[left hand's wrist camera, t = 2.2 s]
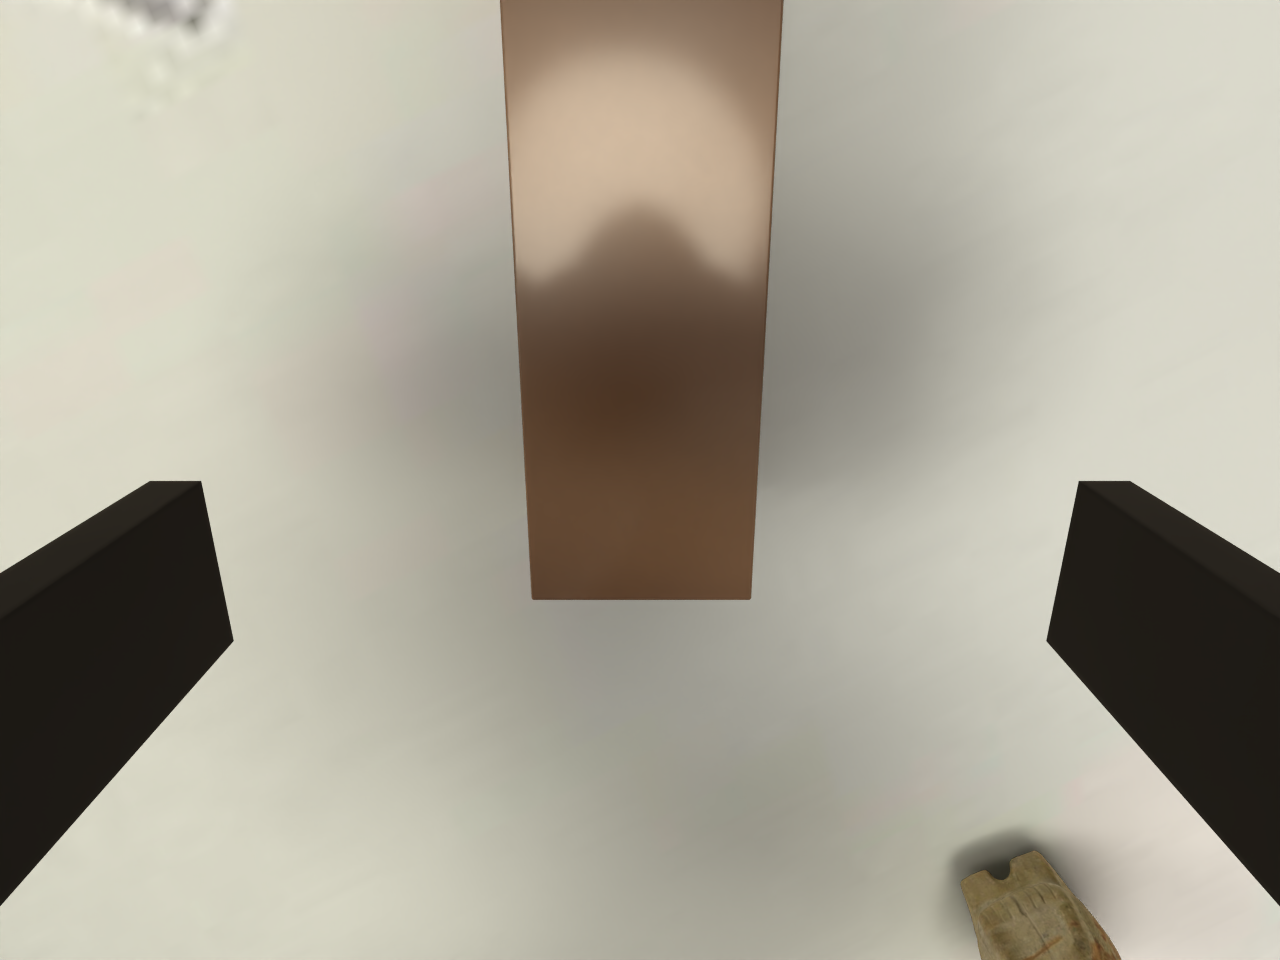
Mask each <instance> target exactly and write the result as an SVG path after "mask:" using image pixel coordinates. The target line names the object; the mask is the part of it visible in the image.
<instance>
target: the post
mask: <svg viewBox="0 0 1280 960" xmlns="http://www.w3.org/2000/svg"><path fill="white" fill-rule="evenodd" d="M783 1H784V0H500V10H501V29H502V48H503V67H504V86H505V104H506V123H507V142H508V161H509V180H510V199H511V218H512V236H513V255H514V274H515V293H516V312H517V331H518V349H519V368H520V387H521V406H522V425H523V444H524V462H525V481H526V500H527V519H528V538H529V557H530V575H531V594H532V599H533V600H750V599H751V589H752V571H753V552H754V534H755V516H756V497H757V479H758V460H759V442H760V424H761V405H762V387H763V369H764V350H765V332H766V313H767V295H768V277H769V258H770V240H771V221H772V203H773V185H774V166H775V148H776V130H777V111H778V93H779V74H780V56H781V38H782V19H783Z"/></svg>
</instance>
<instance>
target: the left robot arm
mask: <svg viewBox="0 0 1280 960" xmlns="http://www.w3.org/2000/svg"><path fill="white" fill-rule="evenodd" d="M233 641H234V640H233V635H232V630H231V626H230V621H229V616H228V611H227V606H226V601H225V596H224V591H223V586H222V581H221V576H220V571H219V567H218V562H217V557H216V552H215V547H214V542H213V537H212V532H211V527H210V522H209V517H208V513H207V508H206V503H205V498H204V493H203V488H202V483H201V481H149V482H148V483H146V484H144V485H143V486H141V487H140V488H138V489H136V490H135V491H133V492H131V493H130V494H128V495H127V496H125V497H123V498H122V499H120V500H118V501H117V502H115V503H114V504H112V505H110V506H109V507H107V508H105V509H104V510H102V511H101V512H99V513H97V514H96V515H94V516H92V517H91V518H89V519H88V520H86V521H84V522H83V523H81V524H79V525H78V526H76V527H75V528H73V529H71V530H70V531H68V532H66V533H65V534H63V535H62V536H60V537H58V538H57V539H55V540H53V541H52V542H50V543H49V544H47V545H45V546H44V547H42V548H40V549H39V550H37V551H36V552H34V553H32V554H31V555H29V556H27V557H26V558H24V559H23V560H21V561H19V562H18V563H16V564H14V565H13V566H11V567H10V568H8V569H6V570H5V571H3V572H1V573H0V906H1V905H2V904H3V902H4V901H5V900H6V899H7V898H8V897H9V896H10V894H11V893H12V892H13V891H14V890H15V889H16V888H17V887H18V885H19V884H20V883H21V882H22V881H23V880H24V879H25V877H26V876H27V875H28V874H29V873H30V872H31V871H32V869H33V868H34V867H35V866H36V865H37V864H38V863H39V862H40V860H41V859H42V858H43V857H44V856H45V855H46V854H47V852H48V851H49V850H50V849H51V848H52V847H53V846H54V844H55V843H56V842H57V841H58V840H59V839H60V838H61V837H62V835H63V834H64V833H65V832H66V831H67V830H68V829H69V827H70V826H71V825H72V824H73V823H74V822H75V821H76V819H77V818H78V817H79V816H80V815H81V814H82V813H83V812H84V810H85V809H86V808H87V807H88V806H89V805H90V804H91V802H92V801H93V800H94V799H95V798H96V797H97V796H98V794H99V793H100V792H101V791H102V790H103V789H104V788H105V787H106V785H107V784H108V783H109V782H110V781H111V780H112V779H113V777H114V776H115V775H116V774H117V773H118V772H119V771H120V769H121V768H122V767H123V766H124V765H125V764H126V763H127V762H128V760H129V759H130V758H131V757H132V756H133V755H134V754H135V752H136V751H137V750H138V749H139V748H140V747H141V746H142V745H143V743H144V742H145V741H146V740H147V739H148V738H149V737H150V735H151V734H152V733H153V732H154V731H155V730H156V729H157V727H158V726H159V725H160V724H161V723H162V722H163V721H164V720H165V718H166V717H167V716H168V715H169V714H170V713H171V712H172V710H173V709H174V708H175V707H176V706H177V705H178V704H179V702H180V701H181V700H182V699H183V698H184V697H185V696H186V695H187V693H188V692H189V691H190V690H191V689H192V688H193V687H194V685H195V684H196V683H197V682H198V681H199V680H200V679H201V677H202V676H203V675H204V674H205V673H206V672H207V671H208V670H209V668H210V667H211V666H212V665H213V664H214V663H215V662H216V660H217V659H218V658H219V657H220V656H221V655H222V654H223V652H224V651H225V650H226V649H227V648H228V647H229V646H230V645H231V643H232V642H233ZM1046 641H1047V642H1048V643H1049V645H1050V646H1051V647H1052V648H1053V649H1054V650H1055V651H1056V652H1057V654H1058V655H1059V656H1060V657H1061V658H1062V659H1063V660H1064V662H1065V663H1066V664H1067V665H1068V666H1069V667H1070V668H1071V670H1072V671H1073V672H1074V673H1075V674H1076V675H1077V676H1078V677H1079V679H1080V680H1081V681H1082V682H1083V683H1084V684H1085V685H1086V687H1087V688H1088V689H1089V690H1090V691H1091V692H1092V693H1093V695H1094V696H1095V697H1096V698H1097V699H1098V700H1099V701H1100V702H1101V704H1102V705H1103V706H1104V707H1105V708H1106V709H1107V710H1108V712H1109V713H1110V714H1111V715H1112V716H1113V717H1114V718H1115V720H1116V721H1117V722H1118V723H1119V724H1120V725H1121V726H1122V727H1123V729H1124V730H1125V731H1126V732H1127V733H1128V734H1129V735H1130V737H1131V738H1132V739H1133V740H1134V741H1135V742H1136V743H1137V745H1138V746H1139V747H1140V748H1141V749H1142V750H1143V751H1144V752H1145V754H1146V755H1147V756H1148V757H1149V758H1150V759H1151V760H1152V762H1153V763H1154V764H1155V765H1156V766H1157V767H1158V768H1159V769H1160V771H1161V772H1162V773H1163V774H1164V775H1165V776H1166V777H1167V779H1168V780H1169V781H1170V782H1171V783H1172V784H1173V785H1174V787H1175V788H1176V789H1177V790H1178V791H1179V792H1180V793H1181V794H1182V796H1183V797H1184V798H1185V799H1186V800H1187V801H1188V802H1189V804H1190V805H1191V806H1192V807H1193V808H1194V809H1195V810H1196V812H1197V813H1198V814H1199V815H1200V816H1201V817H1202V818H1203V819H1204V821H1205V822H1206V823H1207V824H1208V825H1209V826H1210V827H1211V829H1212V830H1213V831H1214V832H1215V833H1216V834H1217V835H1218V837H1219V838H1220V839H1221V840H1222V841H1223V842H1224V843H1225V844H1226V846H1227V847H1228V848H1229V849H1230V850H1231V851H1232V852H1233V854H1234V855H1235V856H1236V857H1237V858H1238V859H1239V860H1240V862H1241V863H1242V864H1243V865H1244V866H1245V867H1246V868H1247V869H1248V871H1249V872H1250V873H1251V874H1252V875H1253V876H1254V877H1255V879H1256V880H1257V881H1258V882H1259V883H1260V884H1261V885H1262V887H1263V888H1264V889H1265V890H1266V891H1267V892H1268V893H1269V894H1270V896H1271V897H1272V898H1273V899H1274V900H1275V901H1276V902H1277V904H1278V905H1279V906H1280V573H1279V572H1277V571H1275V570H1274V569H1272V568H1270V567H1269V566H1267V565H1266V564H1264V563H1262V562H1261V561H1259V560H1257V559H1256V558H1254V557H1253V556H1251V555H1249V554H1248V553H1246V552H1244V551H1243V550H1241V549H1240V548H1238V547H1236V546H1235V545H1233V544H1231V543H1230V542H1228V541H1227V540H1225V539H1223V538H1222V537H1220V536H1218V535H1217V534H1215V533H1214V532H1212V531H1210V530H1209V529H1207V528H1205V527H1204V526H1202V525H1201V524H1199V523H1197V522H1196V521H1194V520H1192V519H1191V518H1189V517H1188V516H1186V515H1184V514H1183V513H1181V512H1179V511H1178V510H1176V509H1175V508H1173V507H1171V506H1170V505H1168V504H1166V503H1165V502H1163V501H1162V500H1160V499H1158V498H1157V497H1155V496H1153V495H1152V494H1150V493H1149V492H1147V491H1145V490H1144V489H1142V488H1140V487H1139V486H1137V485H1136V484H1134V483H1132V482H1131V481H1079V483H1078V488H1077V493H1076V498H1075V503H1074V508H1073V513H1072V517H1071V522H1070V527H1069V532H1068V537H1067V542H1066V547H1065V552H1064V557H1063V562H1062V567H1061V571H1060V576H1059V581H1058V586H1057V591H1056V596H1055V601H1054V606H1053V611H1052V616H1051V621H1050V626H1049V630H1048V635H1047V640H1046Z"/></svg>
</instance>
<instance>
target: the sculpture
mask: <svg viewBox="0 0 1280 960" xmlns="http://www.w3.org/2000/svg"><path fill="white" fill-rule="evenodd" d="M1009 867H1010V874H1009V876H1008V877H1007V879H1004V880H998V879H995V878H994V877H993V876H992V875H991V874H990V873H989V872H988V871H987V870H983V871H980V872H977V873H975V874H972V875H970V876H968V877H967V878H965V879H963V880H962V881H961V888H962V891H963V894H964V897H965V899H966V902H967V905H968V908H969V911H970V914H971V917H972V921H973V925H974V929H975V933H976V936H977V939H978V948H979V951H980V955H981V959H982V960H1121V958H1120V956H1119V953H1118V951H1117V950H1116V948H1115V946H1114V945H1113V943H1112V941H1111V940H1110V938H1109V937H1108V935H1107V934H1106V933H1105V931H1104V930H1103V929H1102V927H1101V926H1100V925H1099V923H1098V922H1097V921H1096V919H1095V918H1094V917H1093V916H1092V914H1091V913H1090V912H1089V911H1088V910H1087V908H1086V907H1085V906H1084V905H1083V904H1082V902H1081V901H1080V900H1079V899H1077V898H1076V897H1075V896H1074V894H1073V893H1072V892H1071V891H1070V890H1069V888H1068V887H1067V886H1066V884H1065V883H1064V882H1063V881H1062V879H1061V878H1060V877H1059V875H1058V874H1057V873H1056V872H1055V870H1054V869H1053V868H1052V867H1051V866H1050V864H1049V863H1048V862H1047V861H1046V860H1045V858H1044V857H1043V856H1042V855H1041V854H1040V853H1039V852H1037V851H1031V852H1029V853H1026V854H1023V855H1020V856H1017V857H1015V858H1013V859H1012V860H1011V861H1010V862H1009Z"/></svg>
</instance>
